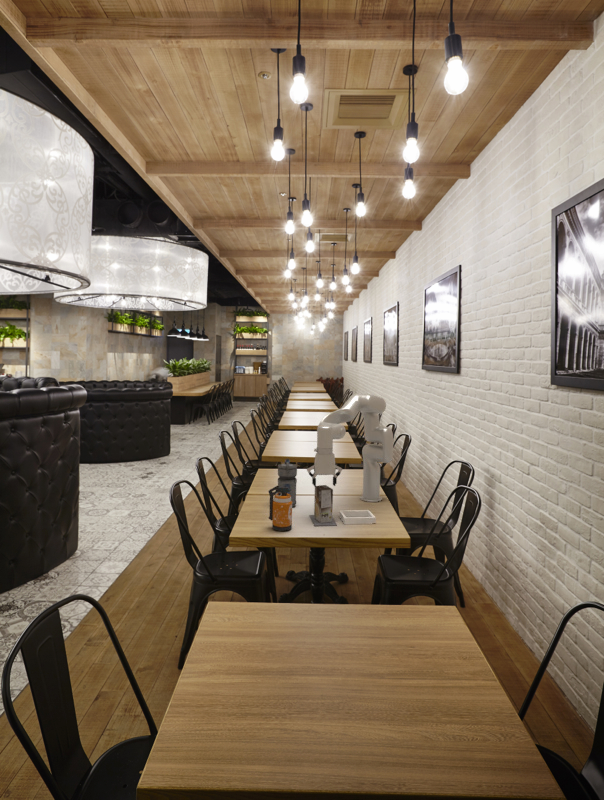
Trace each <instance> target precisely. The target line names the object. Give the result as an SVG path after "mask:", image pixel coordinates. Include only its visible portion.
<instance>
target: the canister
mask: <svg viewBox="0 0 604 800" xmlns="http://www.w3.org/2000/svg"><path fill="white" fill-rule="evenodd" d="M290 491H291V488H289V487H280V486H278V484H277V485H276V486H274V487H273V488H270V489H269V490H268V494H269V516H268V519H269V520H270V521H272V525H271V527H272V529H274V530H275V531H278V532H285V531H286V530H287V531H289V530H291V529H293V526H292V525H293V523H292V522H293V507H292V501H291V495H290V494H287V493H288V492H290ZM287 531H286V532H287Z"/></svg>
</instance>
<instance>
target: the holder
mask: <svg viewBox="0 0 604 800" xmlns="http://www.w3.org/2000/svg"><path fill="white" fill-rule="evenodd" d="M338 517H339V519H340V518H341V519H340V520H341V522H342V521H343V522H342V523H343V525H373V524H372V523H377V522H376V520H377V518H376V516H375V515H374V514H373V513H372V512H371V511H370V510H369V509H356V510H353V509H351V510H350V509H349V510H348V509H347V510H338Z"/></svg>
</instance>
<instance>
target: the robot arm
mask: <svg viewBox="0 0 604 800" xmlns="http://www.w3.org/2000/svg"><path fill="white" fill-rule="evenodd" d="M386 407H387V403H386V401H385V399H384V398H383V397H380V396H377V395H375V394H371V393H353V394H351V395H350V397H349V398H348V399H347V400H346V401H345V403H344V404H343V405H342V406H341V407H340V408H339V409H338V408H337V410H336V409H335V410H334V411H332V412H330V413H328V414H327V415H325V416H324V417H323V418H322V419H321V421H320V422H319V424H318V426H317V429H316V441H317V442H316V448H314V449H313V451H314V452H316V453H315V454H314V455H315V456H314V462H313V463H314V464H313V465H311V466H310V467H307V468H306V472H307V473H308V475H309V476H310V477H311V478H312V479H311V481H312V483H311V484H312V485H313V487H314V488H315V486H317V478H316V477H317V476H331V475H333V476H332V486H333V487H336V485H337V483H338V481H337V479H338V477H339V476H340V475H341V473H342V471H343V468H342V467H340V466H338V465H337V464H336V457H335V453H333V451H334V450H333V446H334V443H333V442H334V440H340V439H343V438H344V437H345V436H346V431H347V429H346V428H345V426H344V425H343V424H345V423H348V422H351V421H353V420H354V419H355V418H356V417H357V415H358V414H359V413H361V414H362V416H363V427H364V429H363V430H364V439H365V441H367V442H369V443H367V444H365V445H363V447H362V451H361V454H362V462H363V470H362V471H363V472H362V474H363V477H362V494H361V495H360V496H359V499H360V500H361V501H363V502H366V501H367V502H368V503H379V502H381V500H382V501H383V497H382V496H380V492H381V491H380V490H381V466H380V464H379V463H383V464H389V463H391V462H392V461H393V458H394V433H393V431H392V429H391V428H390V427H389V426H384V425H380V424H381V423H380V416H379V415H380V414H383V413H384V412H385V411H386ZM375 443H376V444H375ZM336 469H337V470H338V471H337V472H336ZM312 470H313V473H312ZM378 501H379V502H378Z"/></svg>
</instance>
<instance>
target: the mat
mask: <svg viewBox="0 0 604 800" xmlns="http://www.w3.org/2000/svg"><path fill="white" fill-rule="evenodd" d="M308 517H309V518H310V520H311V523H312V524H314V525H313V527H338V524H337V522H336V521H335V519H334V517H333V516H332V522H325V523H320V522H319V521H318V520H317V519H315V518H314V514H309V515H308Z"/></svg>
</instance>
